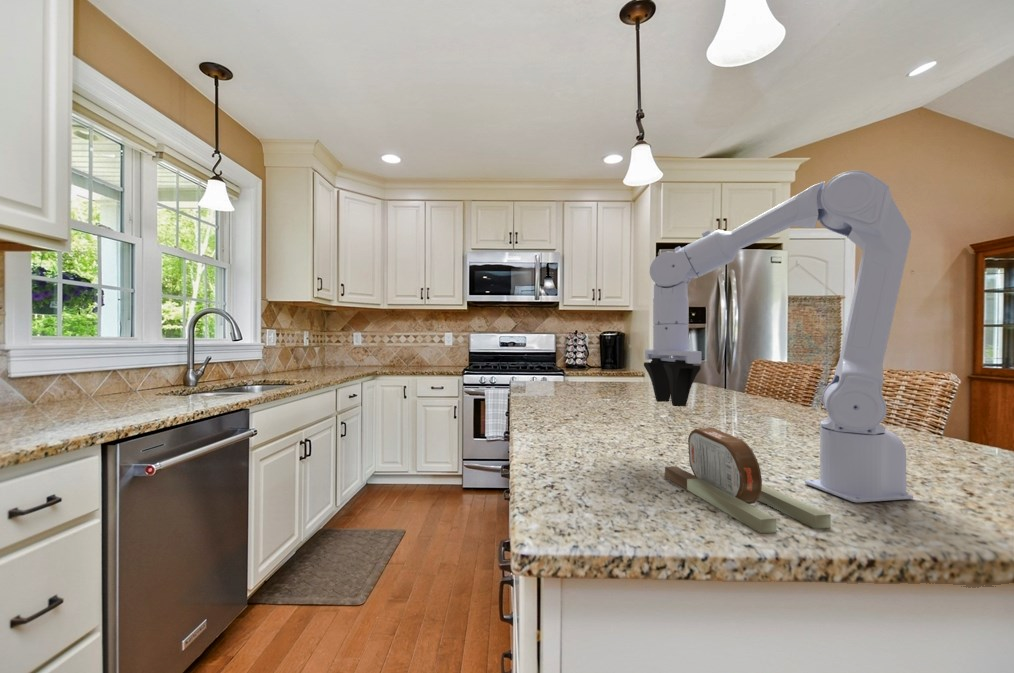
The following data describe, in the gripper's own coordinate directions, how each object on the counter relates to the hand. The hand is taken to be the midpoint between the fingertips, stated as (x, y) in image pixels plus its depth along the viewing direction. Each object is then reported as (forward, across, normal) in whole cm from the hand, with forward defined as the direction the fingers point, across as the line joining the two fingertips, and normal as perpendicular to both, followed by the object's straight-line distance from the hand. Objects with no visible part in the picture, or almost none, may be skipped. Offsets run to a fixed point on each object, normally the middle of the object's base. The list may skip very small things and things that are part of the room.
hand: (670, 403), depth 74 cm
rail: (+10, +16, 0) cm, 19 cm away
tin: (+11, +14, -1) cm, 17 cm away
